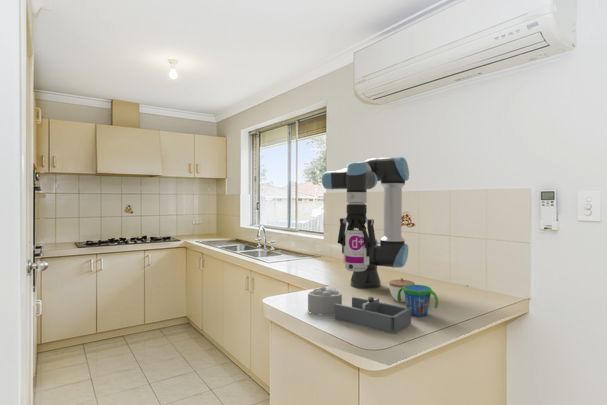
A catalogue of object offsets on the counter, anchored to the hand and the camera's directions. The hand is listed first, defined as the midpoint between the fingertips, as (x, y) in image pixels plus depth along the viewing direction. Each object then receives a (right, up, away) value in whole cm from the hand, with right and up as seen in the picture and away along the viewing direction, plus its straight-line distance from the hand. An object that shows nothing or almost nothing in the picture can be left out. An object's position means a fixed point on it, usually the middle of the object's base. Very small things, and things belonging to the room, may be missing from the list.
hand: (356, 263), depth 140 cm
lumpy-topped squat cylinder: (-12, -20, +7) cm, 24 cm away
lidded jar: (+23, -20, +22) cm, 38 cm away
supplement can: (0, -2, 0) cm, 2 cm away
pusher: (+5, -19, -5) cm, 20 cm away
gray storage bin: (+5, -20, -6) cm, 21 cm away
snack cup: (+24, -20, +3) cm, 32 cm away
